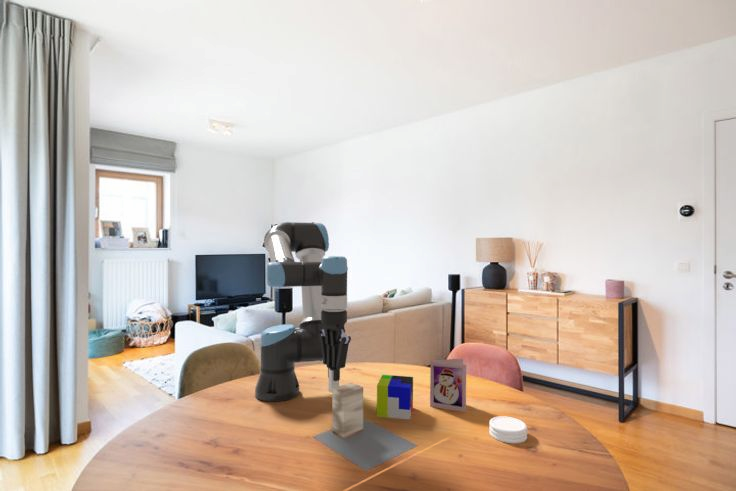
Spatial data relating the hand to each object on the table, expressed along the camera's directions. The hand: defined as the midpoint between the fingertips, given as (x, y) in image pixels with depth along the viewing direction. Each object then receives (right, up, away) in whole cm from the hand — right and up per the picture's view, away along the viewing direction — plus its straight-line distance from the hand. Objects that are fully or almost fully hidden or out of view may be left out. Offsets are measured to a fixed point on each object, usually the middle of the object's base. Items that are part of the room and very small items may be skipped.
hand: (333, 390), depth 119 cm
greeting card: (+37, -11, +15) cm, 41 cm away
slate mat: (+9, -10, -10) cm, 17 cm away
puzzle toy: (+19, -11, +10) cm, 23 cm away
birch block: (+4, -10, -5) cm, 12 cm away
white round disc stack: (+49, -11, -5) cm, 50 cm away
